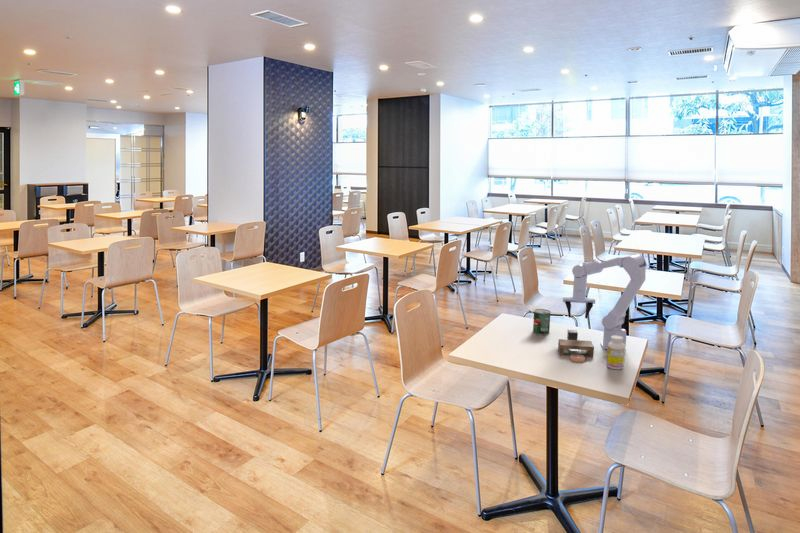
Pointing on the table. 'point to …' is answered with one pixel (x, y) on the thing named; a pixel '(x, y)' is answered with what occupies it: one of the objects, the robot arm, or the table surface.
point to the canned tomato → (541, 321)
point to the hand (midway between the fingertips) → (577, 317)
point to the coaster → (577, 358)
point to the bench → (575, 346)
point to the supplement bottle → (616, 353)
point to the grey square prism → (573, 336)
